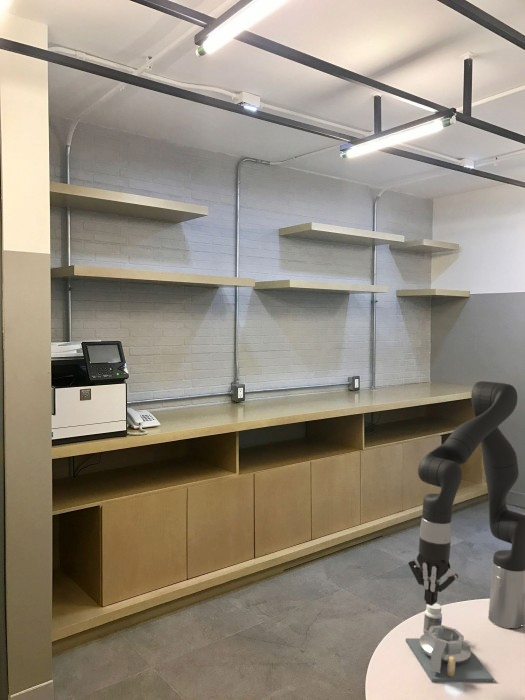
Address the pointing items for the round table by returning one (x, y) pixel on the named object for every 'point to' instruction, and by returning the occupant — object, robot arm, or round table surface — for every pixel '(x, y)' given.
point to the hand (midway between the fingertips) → (430, 603)
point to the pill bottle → (432, 617)
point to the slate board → (460, 668)
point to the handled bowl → (444, 646)
